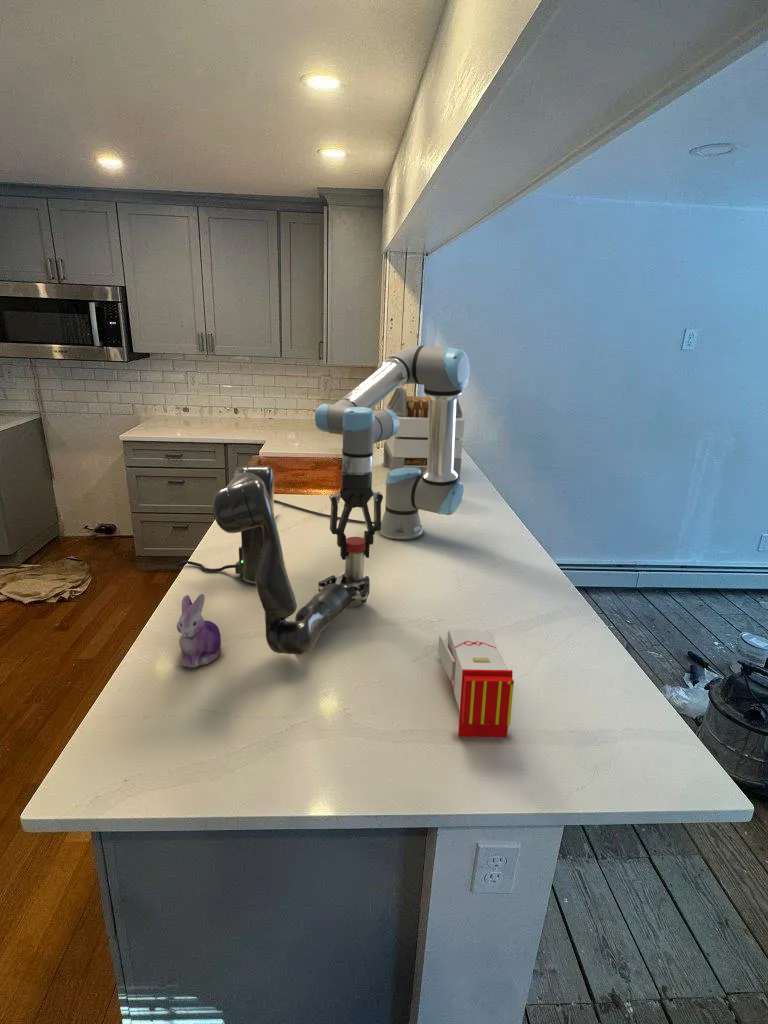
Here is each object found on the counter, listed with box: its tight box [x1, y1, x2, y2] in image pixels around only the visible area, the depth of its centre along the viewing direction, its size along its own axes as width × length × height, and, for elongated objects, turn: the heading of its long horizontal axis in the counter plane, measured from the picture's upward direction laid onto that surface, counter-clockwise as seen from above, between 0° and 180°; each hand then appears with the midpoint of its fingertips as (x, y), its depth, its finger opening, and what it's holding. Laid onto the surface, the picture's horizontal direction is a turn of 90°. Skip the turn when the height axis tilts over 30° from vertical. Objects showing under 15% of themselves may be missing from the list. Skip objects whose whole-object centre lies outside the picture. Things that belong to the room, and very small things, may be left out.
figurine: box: [176, 593, 222, 668], centre depth 123 cm, size 9×10×15 cm
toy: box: [437, 628, 515, 738], centre depth 117 cm, size 12×13×30 cm
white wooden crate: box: [383, 386, 465, 482], centre depth 268 cm, size 34×33×41 cm
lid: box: [346, 536, 366, 553], centre depth 147 cm, size 6×6×2 cm
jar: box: [344, 551, 365, 607], centre depth 150 cm, size 5×5×17 cm
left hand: (358, 577), depth 153 cm, fingers closed on jar, 5 cm apart
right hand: (354, 556), depth 148 cm, fingers closed on lid, 6 cm apart
